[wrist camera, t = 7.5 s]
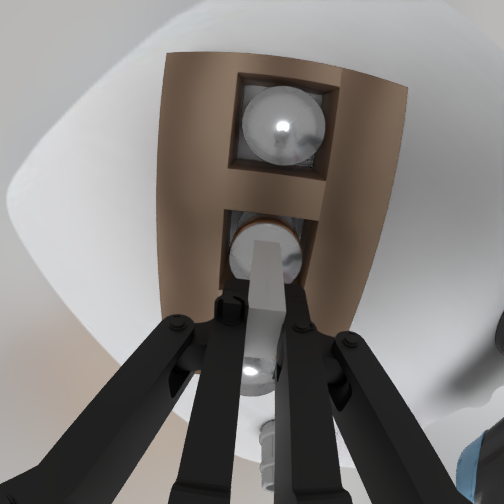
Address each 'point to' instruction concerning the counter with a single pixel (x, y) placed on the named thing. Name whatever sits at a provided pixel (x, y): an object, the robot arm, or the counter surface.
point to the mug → (268, 456)
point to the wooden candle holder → (272, 179)
